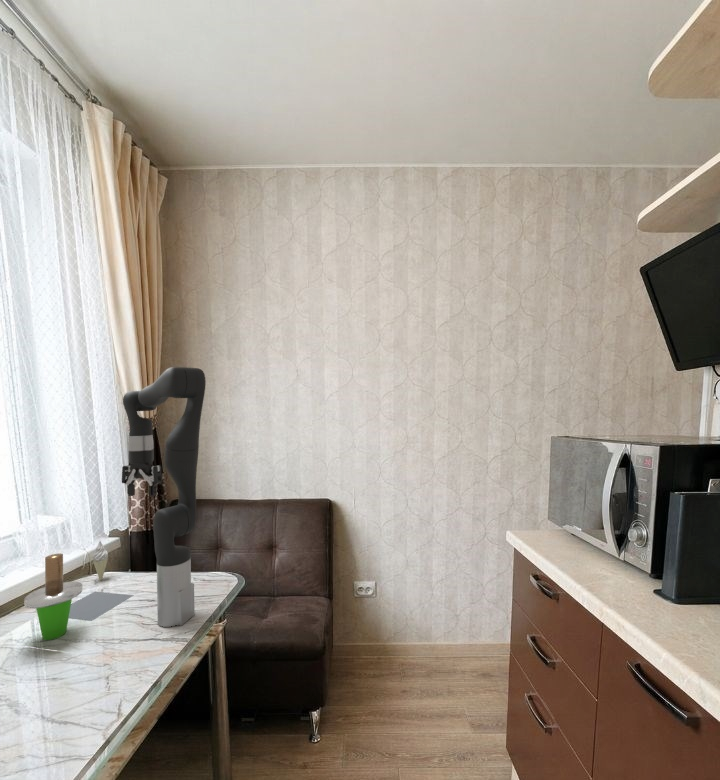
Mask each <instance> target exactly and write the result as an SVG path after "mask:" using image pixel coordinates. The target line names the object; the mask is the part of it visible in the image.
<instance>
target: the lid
mask: <svg viewBox="0 0 720 780" xmlns="http://www.w3.org/2000/svg"><path fill="white" fill-rule="evenodd" d="M44 567H45V569H44V570H45V571H44V573H45V575H44V576H45V579H44V582H45V583H44V584H45V585H44V587H41V588H38V589H35V590H34V591H32V592H31V593H29V594H27V595H26V596H25V597H24V599H23V601H24V602H23V603H24V604H23V605H24V606H25V608H28V609H36V608H43V607H49V606H53V605H57V604H60V603H63V602H66V601H68V600H70V599H72V600H73V599H74V598H77V596H79V595H80V594H81V593H82V592H83V583H82V582H79V581H64V554H63V553H62V552H61V553H53V554H50V555H47V556H45V557H44Z"/></svg>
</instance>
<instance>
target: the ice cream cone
mask: <svg viewBox="0 0 720 780" xmlns="http://www.w3.org/2000/svg"><path fill="white" fill-rule="evenodd" d="M108 555H109V553H108V551H107V550H106V549H105V546H104V545H103V543H102V541H101V540H99V541H98V544H97V546H96V547H95V551H94V553H92V557H91V558H92V563H93V565H94V567H95V571H96V574H97V576H98V577H97V578H98V579H99V581H103V577H104V574H105V571H106V567H107V564H108V561H109V556H108Z"/></svg>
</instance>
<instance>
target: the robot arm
mask: <svg viewBox="0 0 720 780" xmlns="http://www.w3.org/2000/svg"><path fill="white" fill-rule="evenodd" d="M205 391H206V374H205V372H204V371H203V369H202V368H198V367H185V366H171V367H168V368H167V369H165V370H164V371H163V372H162V373H161V375H159V377H157V378H156V379H155V381H154V382H153V383H151V384H149V385H147V386H144V387H143V388H142V389H141V390H129V391H126V392H125V393H124V395H123V397H122V404H123V407H124V411H125V414H126V417H127V420H128V428H129V432H128V433H129V435H128V436H129V437H128V438H129V439H128V463H129V464H128V465H123V466H122V468H121V483H122V484H125V485H126V491H127V495H128V497H133V496H135V493H136V491H135V489H136V486H135V485H136V484H135V483H136V481H137V480H138V479H141V480H145V481H146V482H147V483H148V484H149V486H148V496H149V497H150V498H152V497H153V498H154V497H156V495H157V485H158V484H161V483H162V482H163V476H162V475H163V474H162V466H161V464H159V465H153V462H154V459H155V458H154V457H155V455H154V450H155V449H154V448H155V447H154V444H155V443H154V438H153V437H154V436H153V421H152V419H151V418H149V417H142V416H140V415H139V413H138V412H149V411H150V412H152V411H155V410H156V409H157V407H158V406H160V405H162V404H164V403H165V402H167V401H168V399H169V398H173V399H186V405H185V409H184V411H183V414H182V416H181V418H180V419H179V420H178V422H177V423H176V425H175V426H174V427H173V429H172V430H171V431H170V433H169V435H168V437H167V438H166V441H165V445H164V459H163V460H164V462H163V463H164V466H165V469H166V471H167V473H168V474H169V476H170V477H171V479H172V480H173V482H174V484H175V486H176V488H177V493H178V501H177V504H176V505H173V506H168V507H164V508H160V509H158V510H157V511H156V512H155V513H154V515H153V516H154V517H153V523H152V531H153V540H154V543H153V544H154V553H155V558H156V598H157V599H156V601H157V602H156V603H157V604H156V606H157V608H156V609H157V624H158V626H159V627H162V626H163V627H164V628H172V627H176V626H175V625H177V626H183V625H184V624H185V623H186V622H188V621H189V620H190V619H192V618H193V617H194V616H195V611H196V610H195V583H193V582H192V571H191V570H192V569H191V568H192V564H191V558H192V557H191V555H192V554H191V549H190V547H189V546H186V545H176V544H175V538H178V537H182V536H185V535H188V534H190V533H192V532H193V530H194V529H195V527H196V523H197V487H196V486H197V470H198V462H199V450H200V449H199V447H200V445H199V444H200V428H201V418H202V417H201V416H202V411H203V406H204V401H205V400H204V399H205V393H206V392H205ZM171 626H172V627H171ZM163 627H162V628H163Z"/></svg>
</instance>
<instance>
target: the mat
mask: <svg viewBox="0 0 720 780" xmlns="http://www.w3.org/2000/svg"><path fill="white" fill-rule="evenodd" d="M132 597H134V595H133V594H124V593H115V592H104V591H95V590H94V591H92V592H91V593H90V594H88V595H86V596H84V597H82V598H80V599H78V600H76V601H73V602H71V607H70V612H69V618H68V619H72V620H80V621H81V620H82V621H89V622H92V621H94V620H95V619H97V618H99V617H101V616H103V615H104V614H105V613H107V612H109V611H111V610H112V609H113V608H116V607H117V606H119V605H120V604H122V603H124V602H126V601H127V600H129V599H130V598H132Z"/></svg>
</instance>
